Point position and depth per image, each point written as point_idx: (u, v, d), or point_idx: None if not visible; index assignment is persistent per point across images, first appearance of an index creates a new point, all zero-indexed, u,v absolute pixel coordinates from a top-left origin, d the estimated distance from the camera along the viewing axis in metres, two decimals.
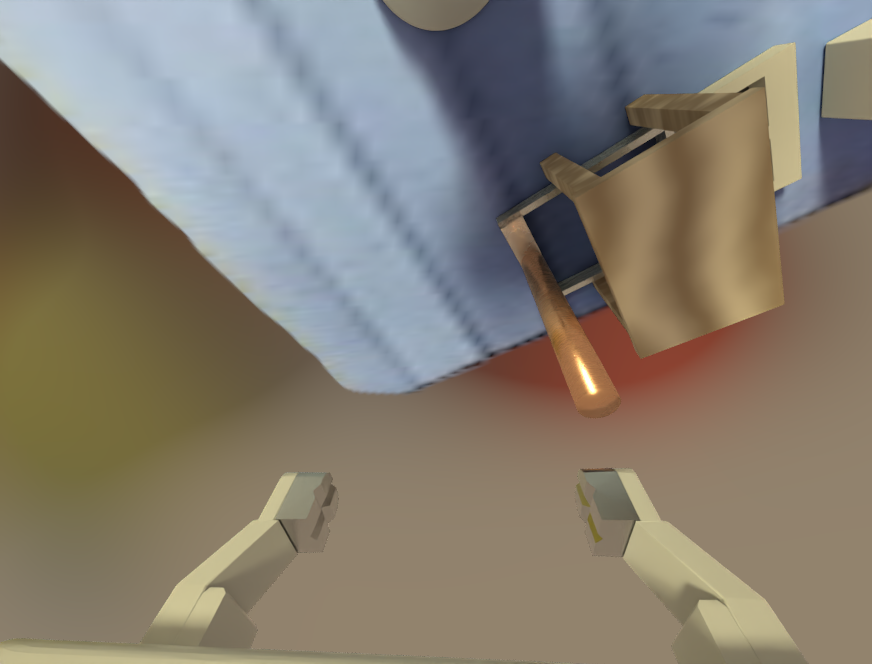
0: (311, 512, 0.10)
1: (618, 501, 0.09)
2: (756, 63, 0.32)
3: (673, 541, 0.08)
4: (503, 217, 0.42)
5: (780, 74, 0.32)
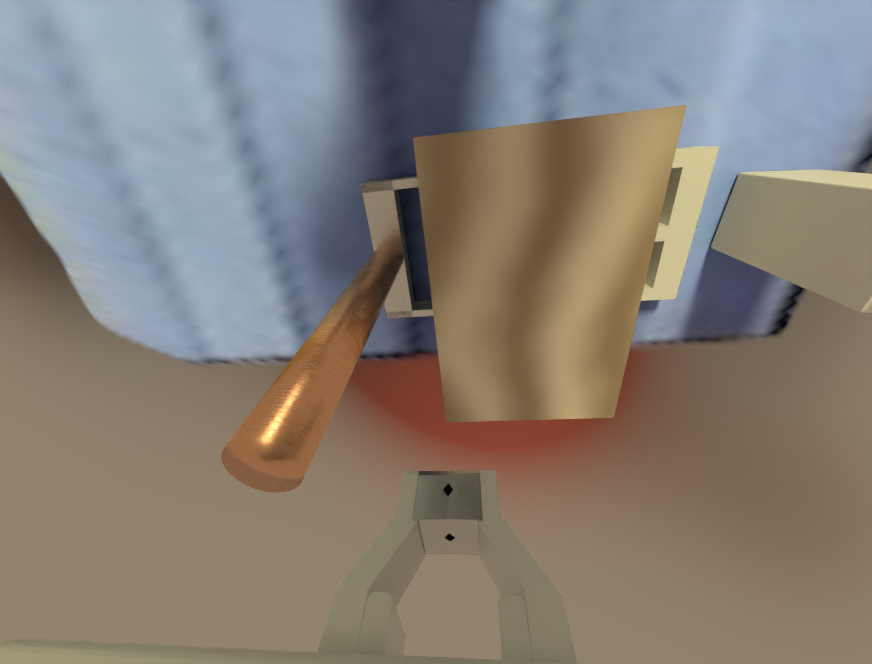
0: (448, 512, 0.09)
1: (469, 501, 0.09)
2: (680, 150, 0.28)
3: (503, 539, 0.08)
4: (373, 181, 0.31)
5: (696, 174, 0.29)
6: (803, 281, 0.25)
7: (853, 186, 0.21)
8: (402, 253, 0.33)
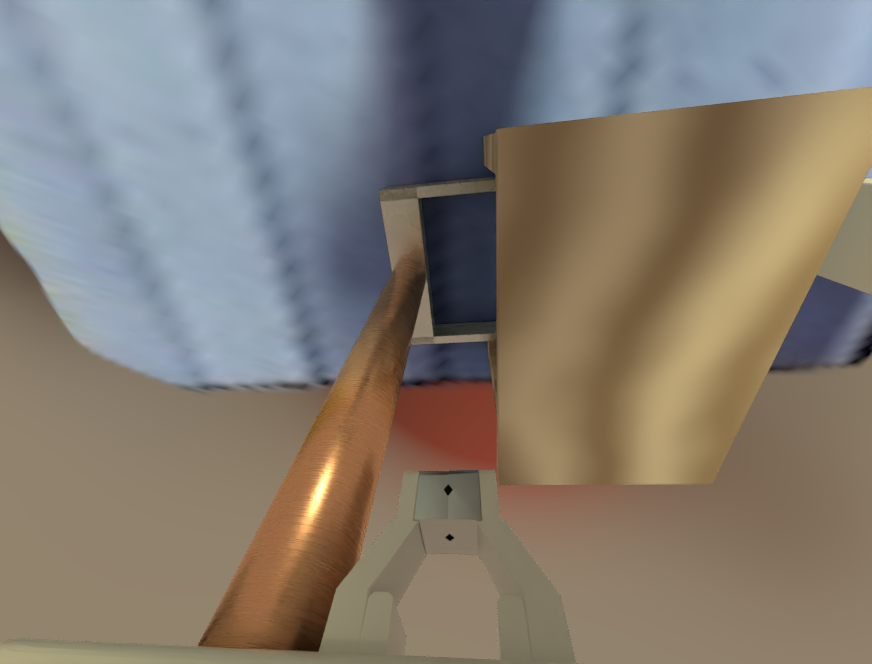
0: (448, 512, 0.09)
1: (468, 502, 0.09)
2: None
3: (502, 539, 0.08)
4: (392, 187, 0.27)
5: None
6: None
7: None
8: (425, 272, 0.28)
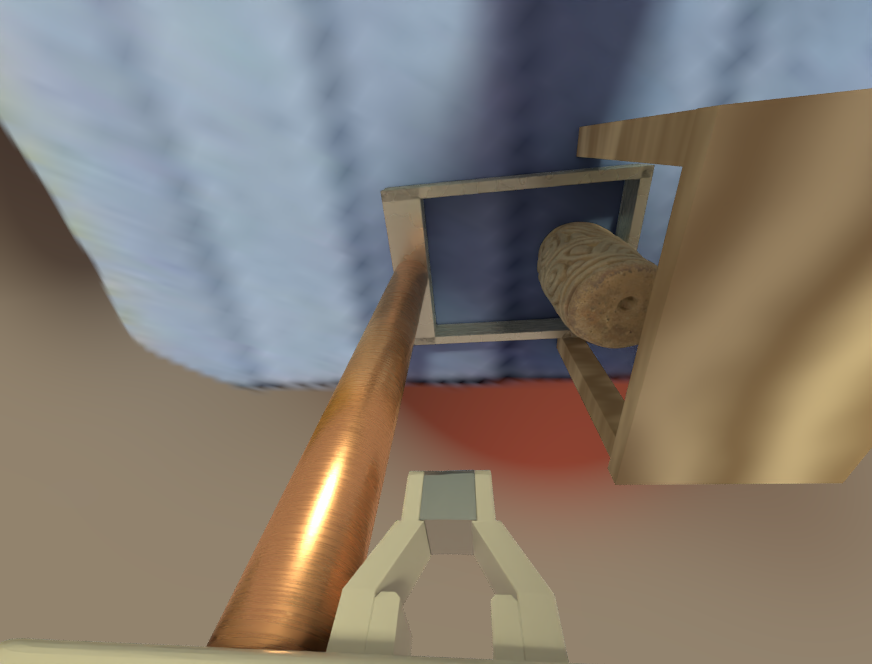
0: (454, 512, 0.09)
1: (464, 502, 0.09)
2: None
3: (497, 539, 0.08)
4: (394, 188, 0.27)
5: None
6: None
7: None
8: (427, 272, 0.28)
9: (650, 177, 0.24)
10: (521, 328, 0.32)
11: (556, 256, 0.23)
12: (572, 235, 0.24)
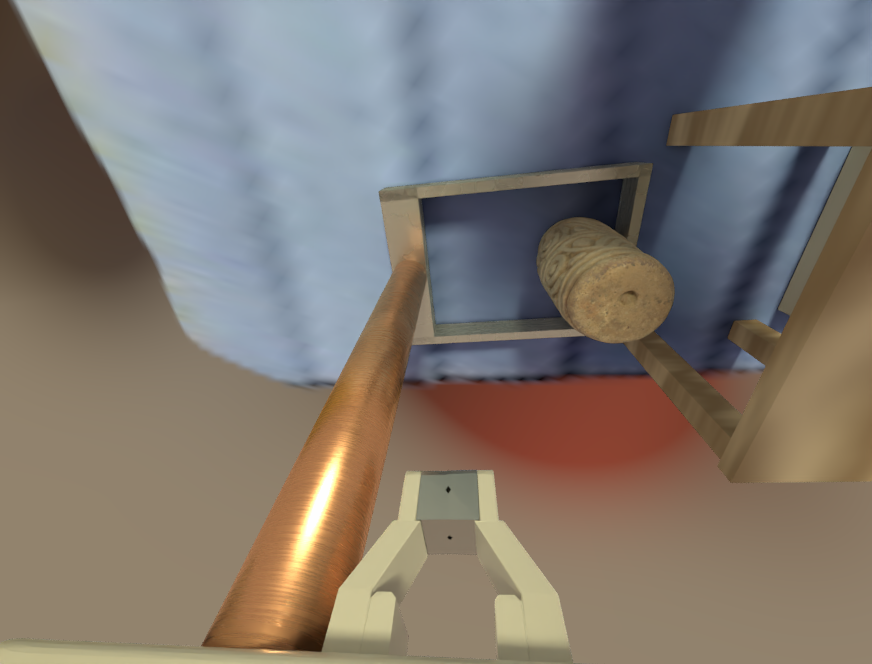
0: (451, 512, 0.09)
1: (466, 502, 0.09)
2: None
3: (500, 539, 0.08)
4: (392, 188, 0.27)
5: None
6: None
7: None
8: (425, 272, 0.28)
9: (648, 175, 0.24)
10: (520, 327, 0.32)
11: (558, 248, 0.23)
12: (575, 228, 0.24)
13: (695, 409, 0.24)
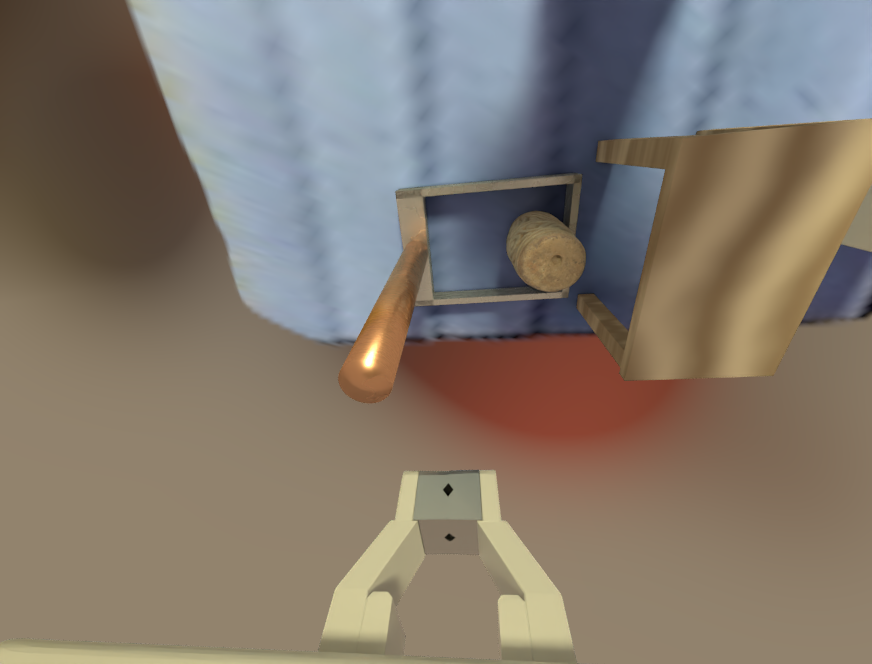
0: (448, 512, 0.09)
1: (469, 501, 0.09)
2: None
3: (503, 540, 0.08)
4: (404, 189, 0.38)
5: None
6: None
7: None
8: (427, 250, 0.39)
9: (580, 182, 0.35)
10: (497, 293, 0.43)
11: (517, 230, 0.34)
12: (530, 218, 0.35)
13: (611, 341, 0.35)
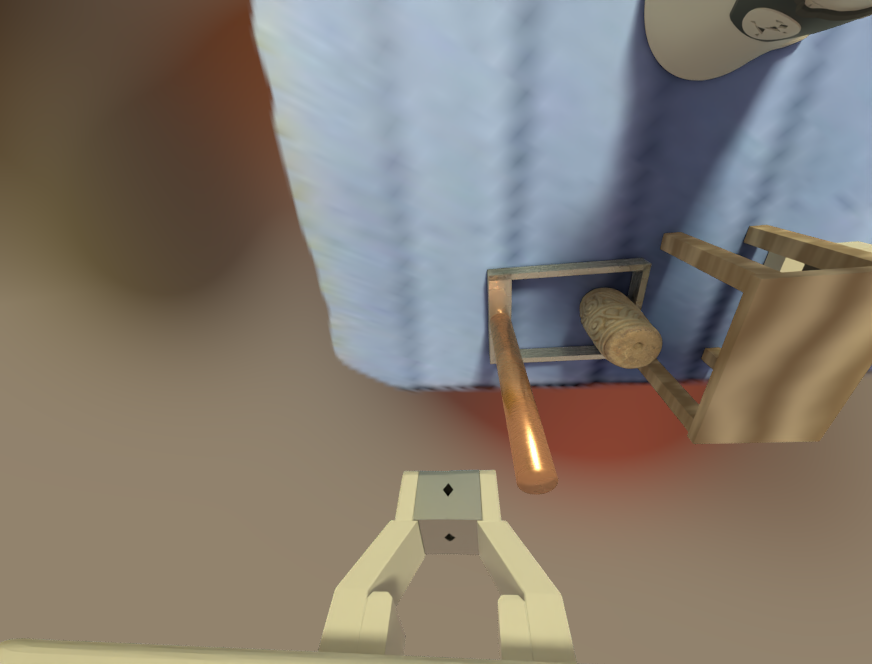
0: (448, 512, 0.09)
1: (469, 501, 0.09)
2: None
3: (503, 539, 0.08)
4: (494, 271, 0.44)
5: None
6: None
7: None
8: None
9: (649, 270, 0.41)
10: (566, 353, 0.49)
11: (597, 312, 0.41)
12: (606, 300, 0.41)
13: (676, 405, 0.41)
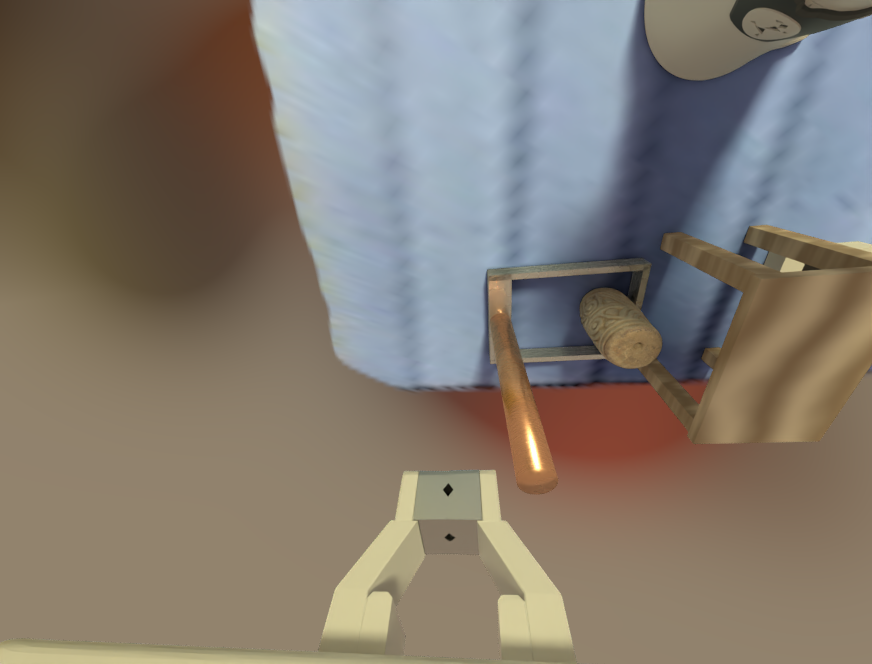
0: (448, 512, 0.09)
1: (469, 501, 0.09)
2: None
3: (503, 539, 0.08)
4: (494, 271, 0.44)
5: None
6: None
7: None
8: None
9: (649, 270, 0.41)
10: (566, 353, 0.49)
11: (597, 312, 0.41)
12: (606, 300, 0.41)
13: (676, 405, 0.41)
